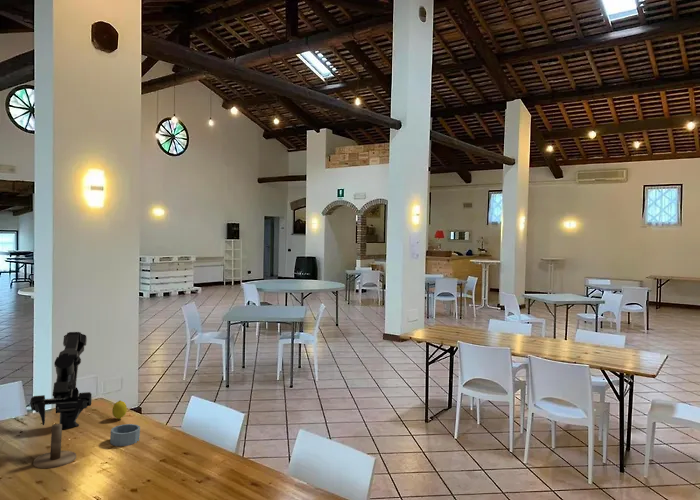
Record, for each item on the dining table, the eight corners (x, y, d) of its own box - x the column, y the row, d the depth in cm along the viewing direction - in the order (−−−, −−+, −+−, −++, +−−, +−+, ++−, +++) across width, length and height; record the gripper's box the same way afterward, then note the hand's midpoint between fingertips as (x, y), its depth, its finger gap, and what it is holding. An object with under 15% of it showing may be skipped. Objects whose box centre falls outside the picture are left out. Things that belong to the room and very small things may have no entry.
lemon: (128, 417, 204) (129, 399, 204) (121, 421, 199) (122, 402, 199) (116, 416, 205) (117, 398, 205) (109, 420, 199) (110, 401, 200)
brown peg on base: (27, 460, 160) (29, 425, 160) (67, 449, 170) (69, 416, 170) (41, 472, 152) (43, 435, 153) (82, 460, 162) (84, 425, 162)
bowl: (105, 440, 179) (106, 428, 179) (131, 433, 187) (132, 422, 187) (118, 448, 173) (118, 435, 173) (144, 440, 181) (145, 428, 181)
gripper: (32, 373, 167) (24, 414, 156) (92, 370, 174) (88, 409, 164) (35, 389, 173) (27, 430, 163) (93, 386, 181) (89, 424, 171)
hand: (58, 423), depth 165 cm, fingers open, 9 cm apart
